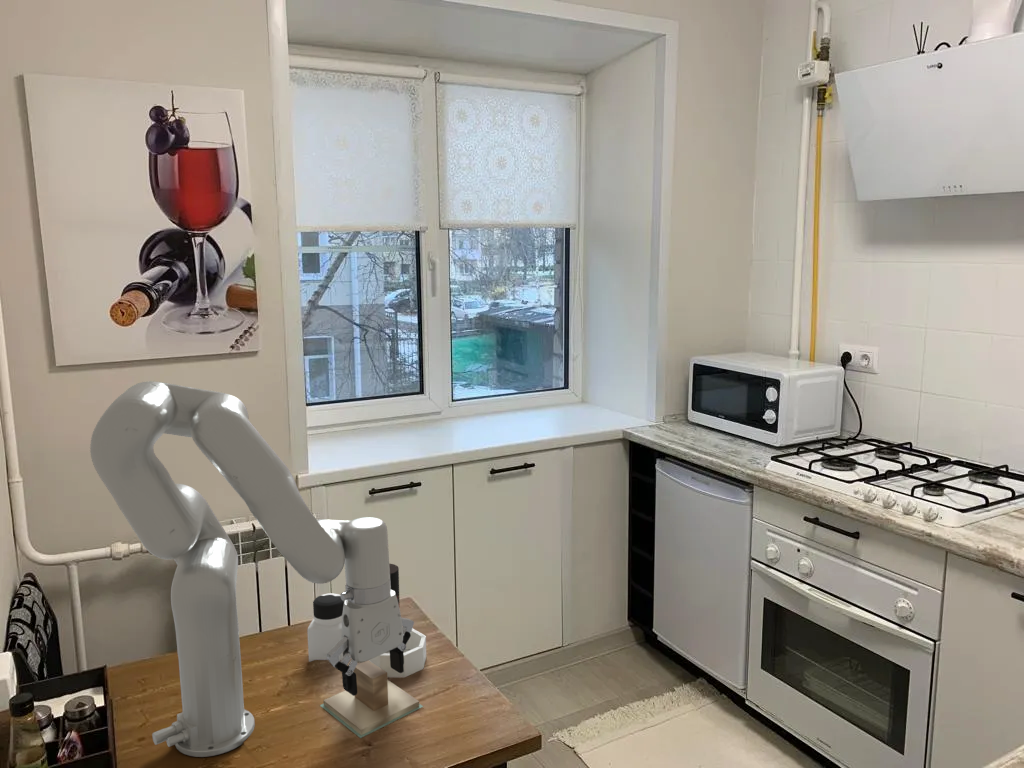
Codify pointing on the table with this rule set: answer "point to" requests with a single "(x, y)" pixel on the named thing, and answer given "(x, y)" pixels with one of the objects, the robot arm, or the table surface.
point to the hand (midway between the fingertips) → (374, 680)
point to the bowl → (406, 656)
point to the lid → (371, 700)
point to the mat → (373, 729)
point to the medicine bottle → (325, 626)
